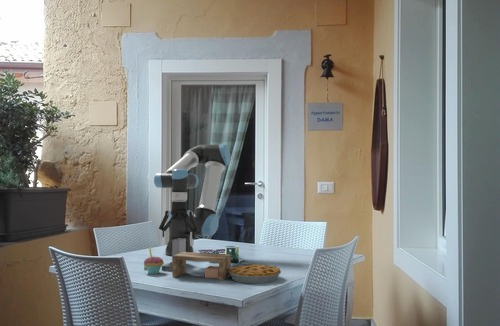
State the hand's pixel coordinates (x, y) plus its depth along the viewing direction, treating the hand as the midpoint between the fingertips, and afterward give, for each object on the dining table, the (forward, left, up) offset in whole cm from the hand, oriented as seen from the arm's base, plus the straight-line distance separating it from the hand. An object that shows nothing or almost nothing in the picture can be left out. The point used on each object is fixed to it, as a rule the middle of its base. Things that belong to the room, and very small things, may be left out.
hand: (178, 245), depth 256 cm
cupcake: (+23, -2, -10) cm, 25 cm away
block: (+22, +26, -10) cm, 35 cm away
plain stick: (+11, -9, -10) cm, 17 cm away
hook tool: (+6, +3, -9) cm, 11 cm away
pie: (+21, +44, -10) cm, 50 cm away
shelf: (+23, +21, -9) cm, 33 cm away
